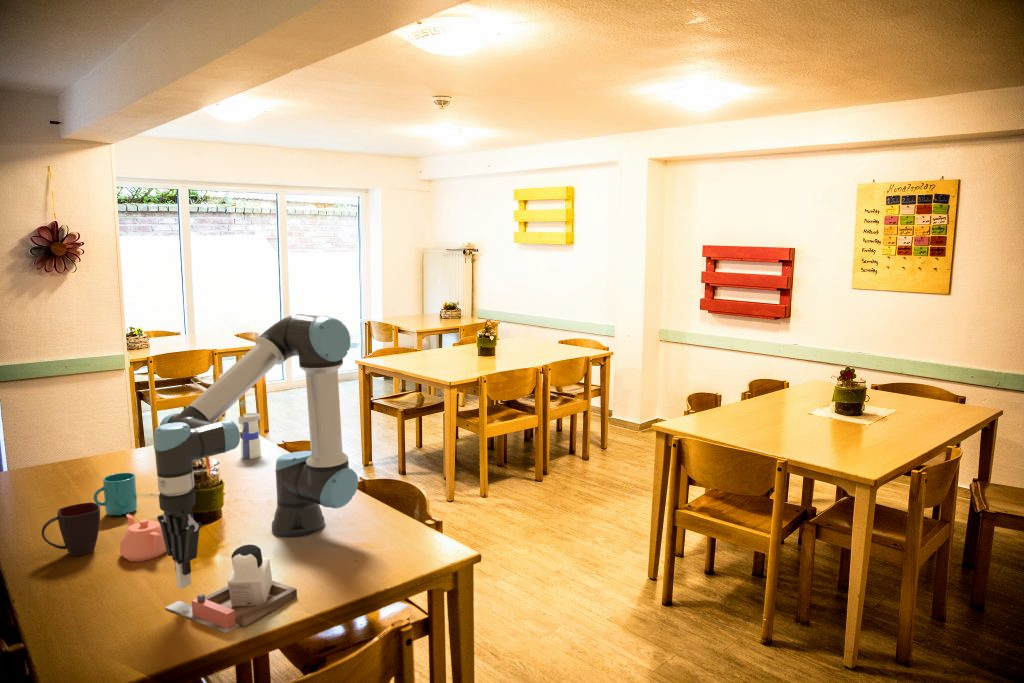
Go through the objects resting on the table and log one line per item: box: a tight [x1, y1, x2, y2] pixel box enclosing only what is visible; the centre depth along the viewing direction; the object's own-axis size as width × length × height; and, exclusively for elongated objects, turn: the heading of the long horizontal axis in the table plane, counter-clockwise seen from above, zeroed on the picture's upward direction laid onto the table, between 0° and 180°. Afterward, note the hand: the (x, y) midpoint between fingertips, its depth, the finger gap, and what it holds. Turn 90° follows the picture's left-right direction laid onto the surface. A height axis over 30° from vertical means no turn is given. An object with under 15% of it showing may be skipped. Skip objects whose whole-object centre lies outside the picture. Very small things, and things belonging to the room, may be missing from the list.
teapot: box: [119, 513, 167, 563], centre depth 195 cm, size 12×18×10 cm
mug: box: [41, 502, 101, 557], centre depth 194 cm, size 10×14×12 cm
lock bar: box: [191, 593, 235, 629], centre depth 159 cm, size 12×2×5 cm, turn 61°
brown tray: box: [164, 580, 298, 634], centre depth 168 cm, size 23×19×2 cm
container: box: [227, 544, 273, 606], centre depth 167 cm, size 8×8×13 cm
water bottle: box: [237, 399, 262, 460], centre depth 274 cm, size 8×9×25 cm
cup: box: [92, 472, 138, 516], centre depth 224 cm, size 9×12×11 cm
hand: (184, 585), depth 167 cm, fingers closed
